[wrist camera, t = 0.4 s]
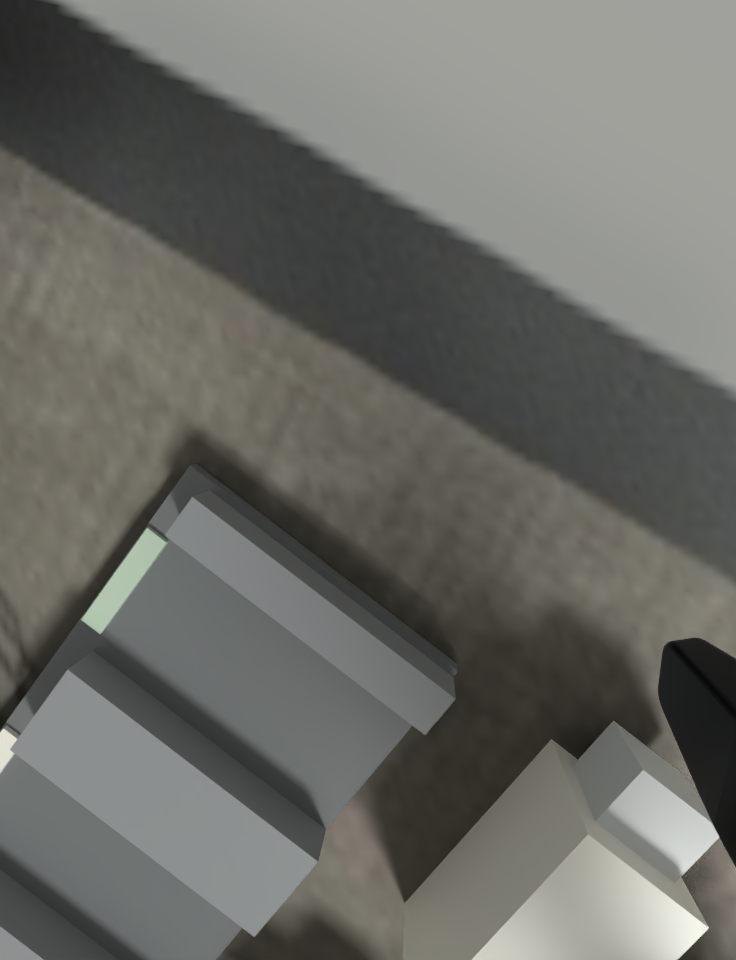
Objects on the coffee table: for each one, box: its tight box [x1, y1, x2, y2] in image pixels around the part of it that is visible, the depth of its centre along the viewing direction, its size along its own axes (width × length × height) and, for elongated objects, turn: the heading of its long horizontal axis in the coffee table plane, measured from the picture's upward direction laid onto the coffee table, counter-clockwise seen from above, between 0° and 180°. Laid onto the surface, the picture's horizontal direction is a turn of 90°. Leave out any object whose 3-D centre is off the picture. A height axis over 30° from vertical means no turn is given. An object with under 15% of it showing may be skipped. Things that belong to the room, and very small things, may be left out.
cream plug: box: [403, 721, 719, 960], centre depth 20 cm, size 10×4×5 cm, turn 142°
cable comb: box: [0, 464, 458, 960], centre depth 22 cm, size 11×18×2 cm, turn 143°
